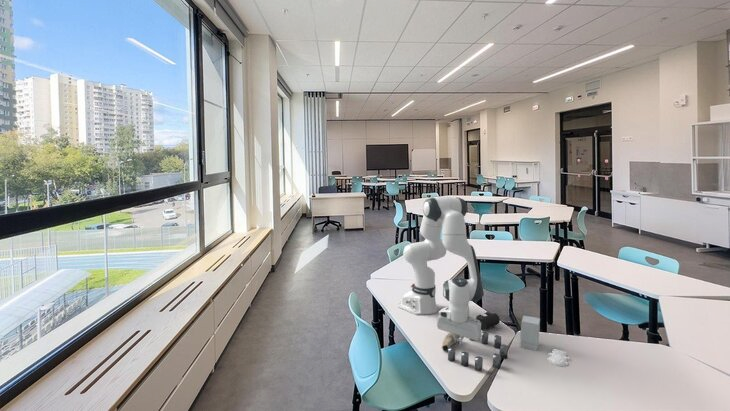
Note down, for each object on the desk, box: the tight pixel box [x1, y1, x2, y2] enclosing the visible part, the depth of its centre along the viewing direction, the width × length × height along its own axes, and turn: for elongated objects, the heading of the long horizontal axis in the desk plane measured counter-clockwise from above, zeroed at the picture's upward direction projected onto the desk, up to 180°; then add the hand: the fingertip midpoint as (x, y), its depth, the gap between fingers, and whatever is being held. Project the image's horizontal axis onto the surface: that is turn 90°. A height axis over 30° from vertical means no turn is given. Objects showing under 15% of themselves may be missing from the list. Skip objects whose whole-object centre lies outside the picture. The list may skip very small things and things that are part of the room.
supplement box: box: [519, 315, 541, 352], centre depth 174 cm, size 7×7×13 cm
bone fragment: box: [441, 332, 461, 351], centre depth 176 cm, size 14×6×5 cm, turn 145°
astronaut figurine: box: [546, 348, 571, 367], centre depth 164 cm, size 9×12×3 cm
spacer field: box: [447, 330, 509, 372], centre depth 167 cm, size 20×25×5 cm
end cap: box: [475, 311, 501, 332], centre depth 192 cm, size 10×7×7 cm
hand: (458, 343), depth 174 cm, fingers closed
